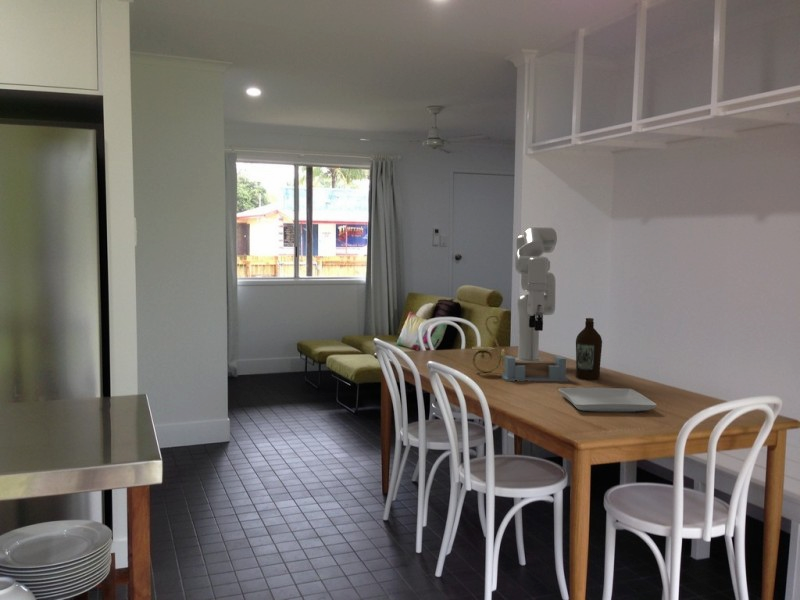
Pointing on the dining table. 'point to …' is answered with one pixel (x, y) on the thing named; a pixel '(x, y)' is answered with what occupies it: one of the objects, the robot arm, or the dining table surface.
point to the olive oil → (588, 352)
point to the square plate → (607, 399)
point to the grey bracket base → (519, 374)
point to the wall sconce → (486, 349)
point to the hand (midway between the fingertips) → (535, 328)
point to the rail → (535, 368)
